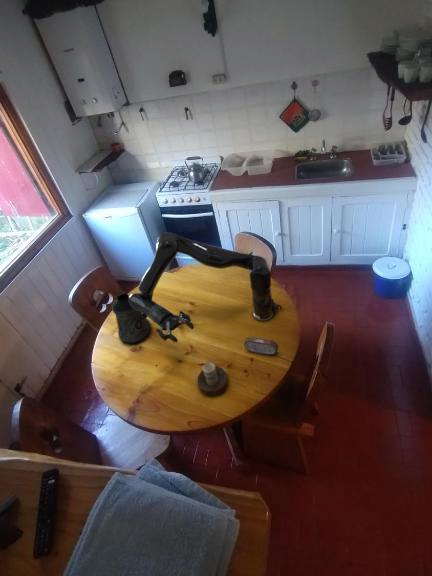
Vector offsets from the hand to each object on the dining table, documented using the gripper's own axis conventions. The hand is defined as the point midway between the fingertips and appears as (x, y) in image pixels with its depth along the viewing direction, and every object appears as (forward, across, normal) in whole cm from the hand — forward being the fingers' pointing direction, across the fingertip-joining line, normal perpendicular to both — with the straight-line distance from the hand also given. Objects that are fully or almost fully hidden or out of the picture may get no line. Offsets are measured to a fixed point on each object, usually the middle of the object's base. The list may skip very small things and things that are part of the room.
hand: (184, 333), depth 139 cm
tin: (+16, +25, +24) cm, 39 cm away
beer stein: (-41, -4, +24) cm, 48 cm away
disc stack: (+11, 0, +22) cm, 24 cm away
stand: (+11, 0, +24) cm, 26 cm away
